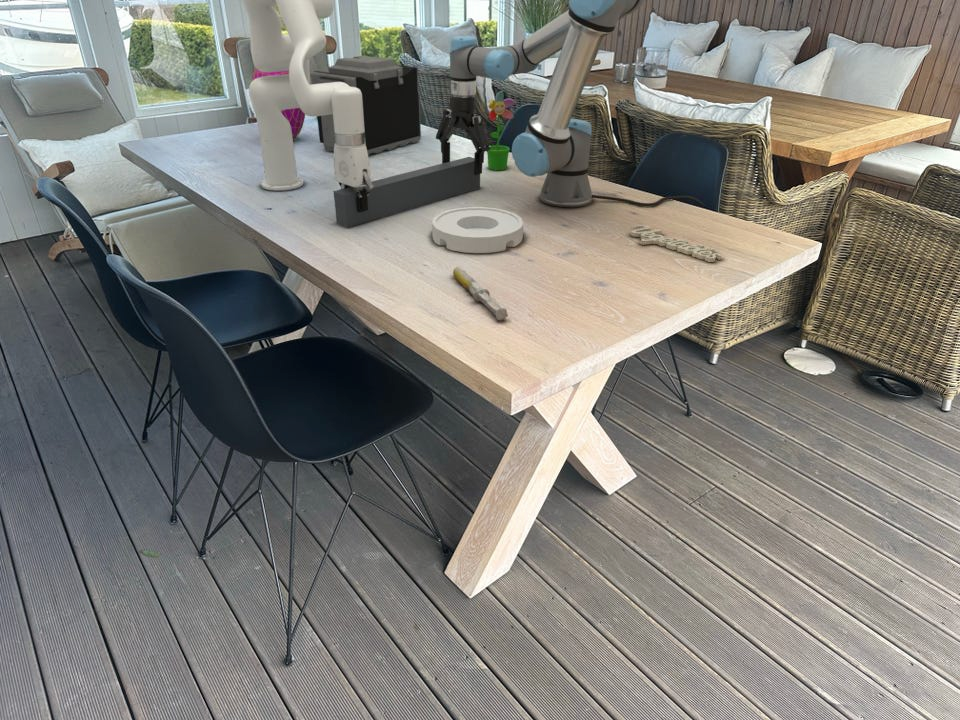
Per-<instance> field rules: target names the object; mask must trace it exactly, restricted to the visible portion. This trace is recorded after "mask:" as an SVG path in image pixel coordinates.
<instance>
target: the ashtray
mask: <svg viewBox="0 0 960 720" xmlns="http://www.w3.org/2000/svg"><path fill="white" fill-rule="evenodd" d="M431 227H432V228H431V229H432V231H431V232H432V233H431V235H432V241H434V242H435V244H436V245H438V246H445V247H446V249H447V250H450V251H452V252H453V251H454V252H460V253H468V254H490V253H499V252H503V251H506V249H507V248H514V247H517V246H518V245H519V244H520V243H522V241H523V238H524V235H523V234H524V221H523V219H522V217H520V215H518V214H516V213H514V212H512V211H509V210H505V209H501V208H494V207H486V206H467V207H458V208H451V209H448V210H445V211H441V212H439V213H438V214H436V215H435V216H434V217H433V218H432V220H431Z"/></svg>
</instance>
